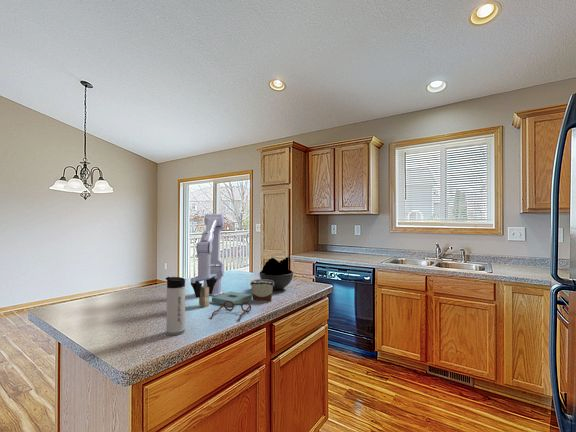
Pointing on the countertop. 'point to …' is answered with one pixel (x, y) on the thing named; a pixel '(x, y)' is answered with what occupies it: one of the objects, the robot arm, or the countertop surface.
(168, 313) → the travel mug
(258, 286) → the food container
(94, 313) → the countertop surface
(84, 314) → the countertop surface
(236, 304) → the glasses
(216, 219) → the robot arm
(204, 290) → the wood stick
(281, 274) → the bowl of black rocks
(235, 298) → the holder plate
